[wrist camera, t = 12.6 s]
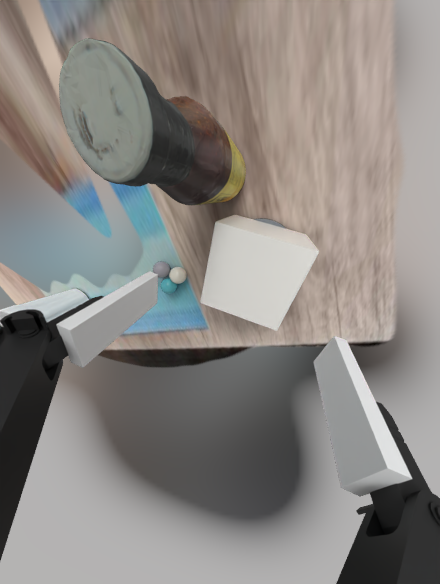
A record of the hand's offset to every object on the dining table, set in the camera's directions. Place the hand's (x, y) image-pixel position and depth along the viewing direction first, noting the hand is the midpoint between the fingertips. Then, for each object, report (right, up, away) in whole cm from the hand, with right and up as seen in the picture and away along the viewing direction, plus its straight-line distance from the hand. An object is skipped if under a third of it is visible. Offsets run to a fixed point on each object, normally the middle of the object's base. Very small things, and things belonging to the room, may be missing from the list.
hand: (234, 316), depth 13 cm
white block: (+5, +7, +14) cm, 16 cm away
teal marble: (-10, +4, +21) cm, 24 cm away
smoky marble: (-11, +7, +20) cm, 24 cm away
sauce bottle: (0, +17, +11) cm, 20 cm away
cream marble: (-8, +5, +20) cm, 22 cm away
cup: (-37, 0, +32) cm, 49 cm away
